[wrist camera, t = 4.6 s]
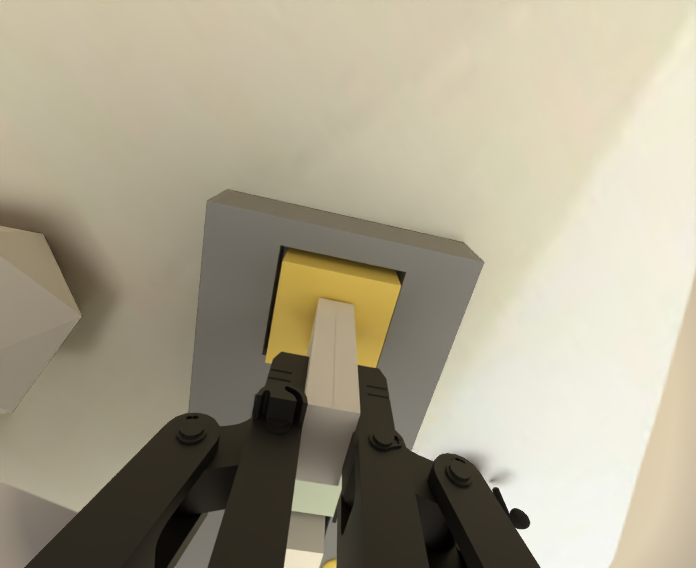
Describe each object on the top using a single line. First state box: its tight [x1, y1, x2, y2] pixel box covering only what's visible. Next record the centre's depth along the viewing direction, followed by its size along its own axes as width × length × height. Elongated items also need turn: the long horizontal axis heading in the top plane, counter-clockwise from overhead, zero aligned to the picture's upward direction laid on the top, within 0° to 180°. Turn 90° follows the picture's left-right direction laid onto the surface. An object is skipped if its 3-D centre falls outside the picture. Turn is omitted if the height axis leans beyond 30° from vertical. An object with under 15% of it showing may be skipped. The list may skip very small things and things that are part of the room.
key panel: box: [175, 190, 484, 568], centre depth 22 cm, size 12×24×3 cm, turn 167°
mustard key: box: [265, 247, 401, 368], centre depth 18 cm, size 5×5×2 cm
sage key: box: [291, 475, 342, 517], centre depth 20 cm, size 5×5×2 cm
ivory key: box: [284, 511, 325, 568], centre depth 23 cm, size 5×5×2 cm
